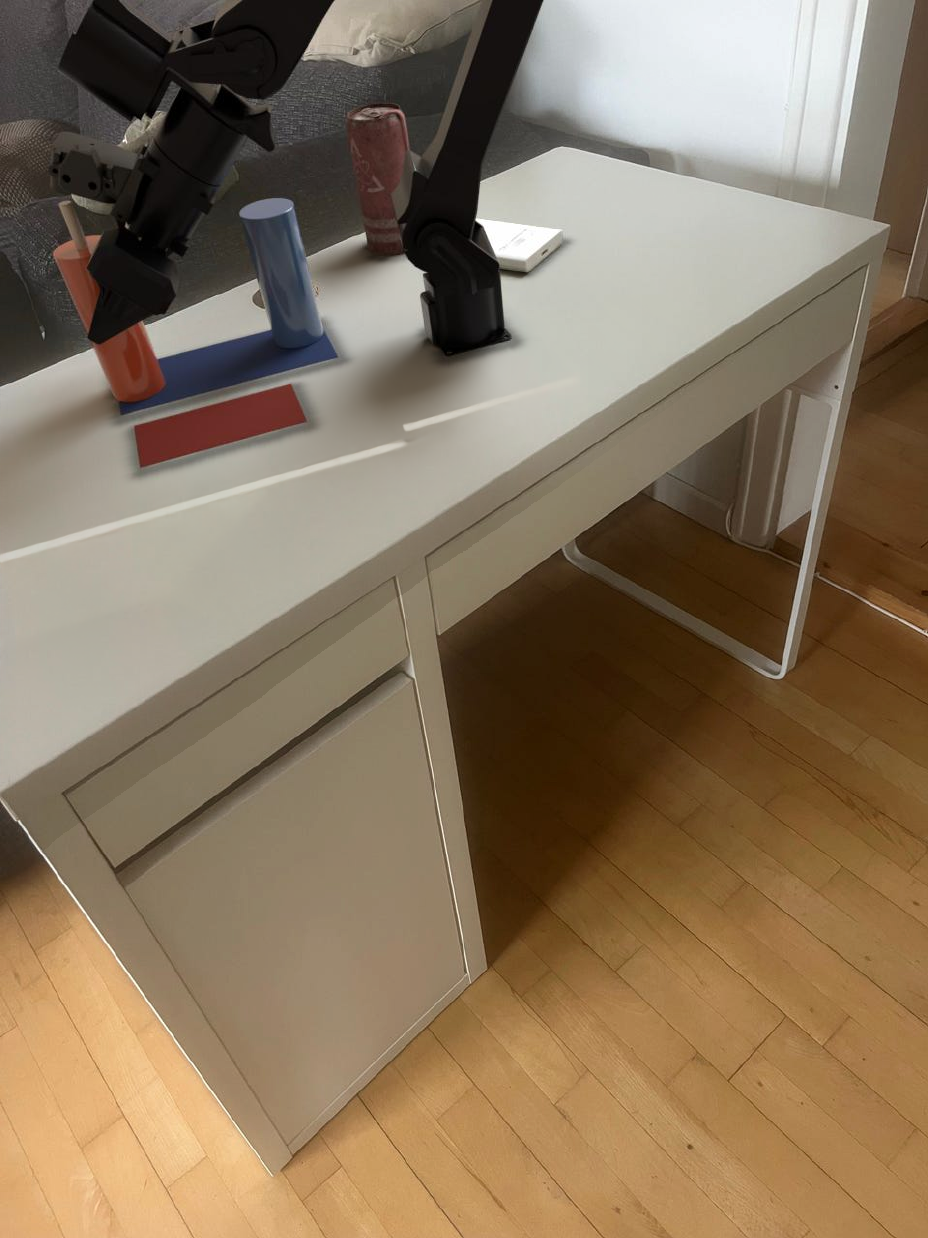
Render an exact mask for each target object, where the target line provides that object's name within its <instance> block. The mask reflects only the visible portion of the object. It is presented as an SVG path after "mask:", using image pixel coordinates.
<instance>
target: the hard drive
mask: <svg viewBox="0 0 928 1238" xmlns="http://www.w3.org/2000/svg"><path fill="white" fill-rule="evenodd" d="M476 221H477V222H479V223H480V224H481V225H483V227H484V229H485V231H486V234H487V236H488V238H489V241H490V243H491V246H492V248H493V250H494V253H495V255H496V258H497V260H498V262H499V265H500V266H499V269H501V270H509V271H514V272H524V273H529V272H531V271H532V270H533V269H535V268H536V266H538V265H539V264H540V263H541V262H542V261H544V260H545V259H546V258H547V257H549V255H551V254H552V253H553V252H554V251H556V250H557V248H559V247H560V246H561V245H562V243H563V242H564V230H563V229H557V228H549V227H541V226H534V225H526V224H518V223H512V222H506V221H505V222H504V221H498V220H497V221H496V220H490V219H482V218H476Z"/></svg>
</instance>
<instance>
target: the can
mask: <svg viewBox="0 0 928 1238" xmlns="http://www.w3.org/2000/svg"><path fill="white" fill-rule="evenodd" d="M346 116H347V118H346V121H345V129H346V134H347V135H346V136H347V140H348V146H349V151H350V157H351V163H352V168H353V174H354V178H355V183H356V189H357V195H358V200H359V205H360V210H361V216H362V222H363V227H364V233H365V238H366V243H367V249H368V251H370V252H371V253H372V254H373V255H377V256H383V257H385V256H387V257H389V256H396V255H397V256H398V255H403V254H405V252H404V250H403V247H402V243H401V238H400V234H399V230H398V225H397V221H396V214H395V209H394V205H393V201H392V197H391V193H392V192H393V191H394V190H395V188H396V187H397V186H398V184H399V182H400V179H401V176H402V172H403V166H404V159H405V154H406V151H407V150H410V144H409V135H408V129H407V121H406V116H405V113H404V112H403V110H402V109H401V106H400V105H399V104H397V103H394V102H393V103H392V102H376V103H369V104H365V105H362V106H361V105H360V106H359V107H356V108H354V109H351V110H350V111H348V113H347V115H346ZM410 151H411V150H410Z"/></svg>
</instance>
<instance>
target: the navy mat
mask: <svg viewBox="0 0 928 1238" xmlns="http://www.w3.org/2000/svg"><path fill="white" fill-rule="evenodd" d="M338 358H339V355H338V353H337V351H336V349H335V348H334V347H333V344H332V343H331V341H330V339H329V337H328V335H327V333H326V331H325V330H324V328H323V335H322V337H321V338H320V339H319V340H318V341H316V342H315V343H313V344H310V345H308V346H305V347H300V348H282V347H280V346H278V345H276V344H275V342H274V338H273V335H272V331H271V329H269V330H265V331H261V332H257V333H254V334H249V335H245V336H242V337H237V338H234V339H230V340H226V341H223V342H218V343H215V344H211V345H207V346H203V347H200V348H195V349H191V350H188V351H184V352H180V353H176V354H172V355H168V356H165V357H160V358H157V360H158V362H159V365H160V368H161V370H162V373H163V375H164V378H165V381H166V384H165V386H164V388H163V389H162V390H161V391H160V392H159V393H157V394H156V395H154V396H152V397H150V398H147V399H144V400H141V401H136V402H122V401H119V400H118V403H119V404H118V405H119V411H120V416H124V415H127V414H132V413H135V412H139V411H143V410H146V409H150V408H154V407H159V406H161V405H165V404H169V403H173V402H176V401H180V400H184V399H187V398H192V397H195V396H199V395H203V394H206V393H210V392H213V391H217V390H221V389H225V388H229V387H232V386H236V385H240V384H243V383H248V382H251V381H255V380H258V379H263V378H266V377H270V376H273V375H278V374H281V373H285V372H289V371H293V370H297V369H299V368H300V369H301V368H304V367H307V366H312V365H313V364H318V363H323V362H326V361H329V360H333V359H338Z"/></svg>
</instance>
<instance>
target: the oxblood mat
mask: <svg viewBox="0 0 928 1238" xmlns="http://www.w3.org/2000/svg"><path fill="white" fill-rule="evenodd" d="M307 422H308V421H307V418H306V415H305V413H304V411H303V408H302V406H301V403H300V401H299V399H298V397H297V395H296V392H295V389H294V387H293V385H292V383H287V384H284V385H281V386H276V387H273V388H269V389H266V390H262V391H258V392H254V393H251V394H247V395H244V396H240V397H236V398H231V399H229V400H225V401H224V400H223V401H221V402H217V403H214V404H210V405H206V406H202V407H199V408H195V409H192V410H187V411H184V412H181V413H177V414H173V415H169V416H166V417H162V418H158V419H154V420H150V421H147V422H143V423H139V424H135V425H134V427H133V428H134V434H135V440H136V448H137V453H138V460H139V467H140V468H145V467H148V466H152V465H156V464H159V463H163V462H167V461H171V460H175V459H177V458H180V457H185V456H189V455H191V454H196V453H199V452H202V451H206V450H209V449H214V448H217V447H221V446H224V445H228V444H231V443H235V442H238V441H239V442H240V441H242V440H246V439H249V438H252V437H257V436H261V435H263V434H267V433H270V432H275V431H278V430H282V429H286V428H288V427H292V426H297V425H300V424H303V423H307Z"/></svg>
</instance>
